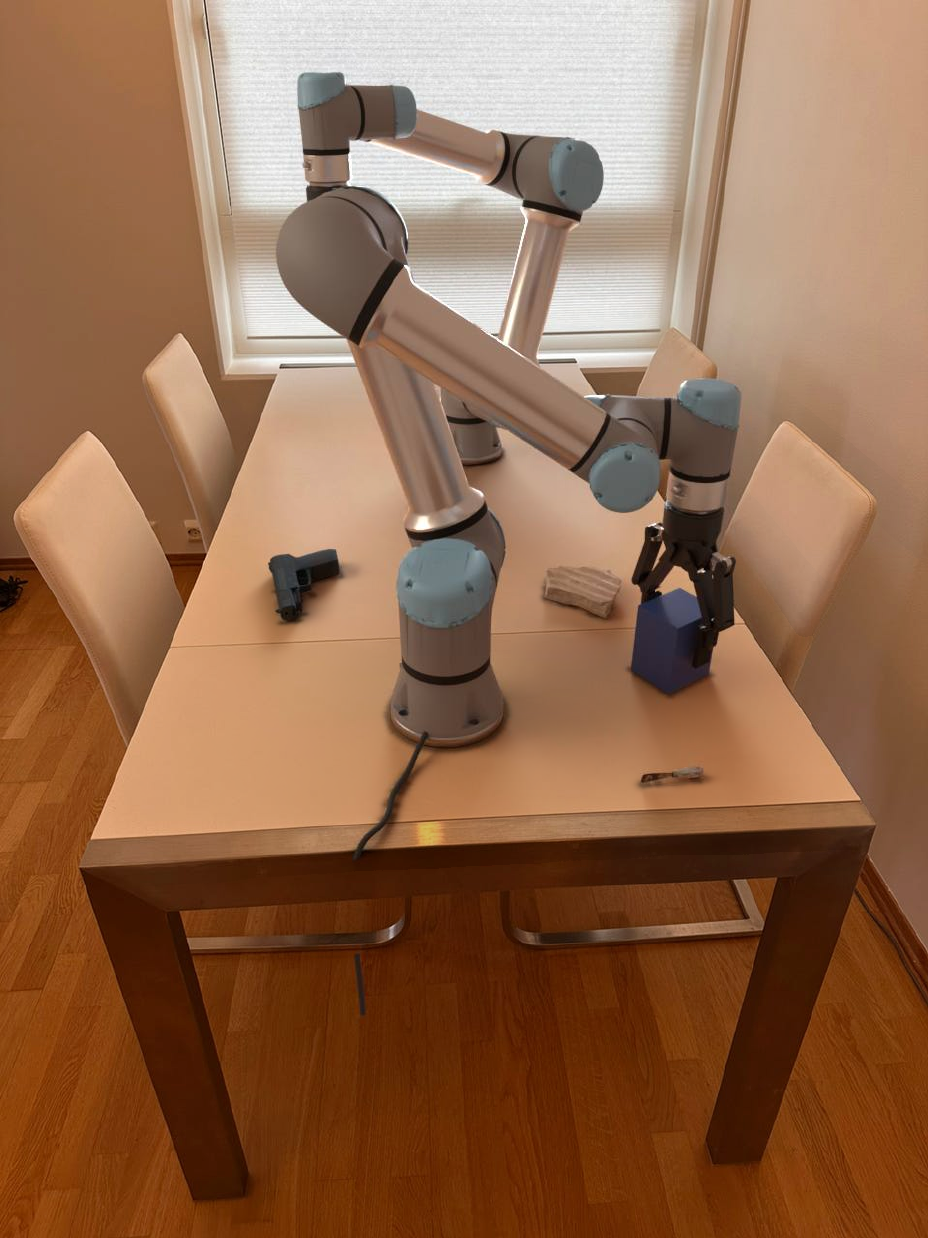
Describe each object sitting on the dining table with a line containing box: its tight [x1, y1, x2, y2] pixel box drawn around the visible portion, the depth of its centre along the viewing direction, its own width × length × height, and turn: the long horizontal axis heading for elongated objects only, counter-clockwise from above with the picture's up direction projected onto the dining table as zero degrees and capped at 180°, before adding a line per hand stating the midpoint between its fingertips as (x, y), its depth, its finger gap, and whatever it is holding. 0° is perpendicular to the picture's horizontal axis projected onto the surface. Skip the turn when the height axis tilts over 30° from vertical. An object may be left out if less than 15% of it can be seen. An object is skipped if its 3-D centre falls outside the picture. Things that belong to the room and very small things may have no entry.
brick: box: [630, 587, 714, 695], centre depth 126 cm, size 8×7×11 cm
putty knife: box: [640, 765, 705, 784], centre depth 109 cm, size 1×8×2 cm, turn 103°
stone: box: [544, 565, 622, 619], centre depth 147 cm, size 13×12×2 cm
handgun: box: [267, 548, 341, 621], centre depth 148 cm, size 3×18×12 cm
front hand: (673, 648), depth 126 cm, fingers open, 9 cm apart
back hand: (339, 318), depth 156 cm, fingers open, 13 cm apart
